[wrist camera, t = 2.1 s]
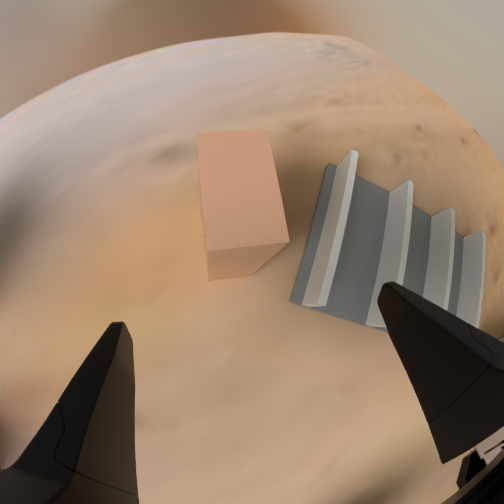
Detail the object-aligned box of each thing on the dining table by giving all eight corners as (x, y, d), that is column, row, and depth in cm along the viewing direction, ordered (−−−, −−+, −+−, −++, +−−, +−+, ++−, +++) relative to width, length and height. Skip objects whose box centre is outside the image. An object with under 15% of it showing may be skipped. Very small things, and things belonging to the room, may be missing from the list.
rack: (452, 349, 21) (477, 351, 18) (289, 301, 20) (305, 299, 16) (466, 242, 24) (489, 235, 21) (325, 166, 23) (343, 144, 19)
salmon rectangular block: (250, 275, 20) (289, 242, 10) (208, 280, 19) (207, 251, 10) (240, 209, 21) (267, 129, 11) (201, 213, 20) (196, 133, 11)
